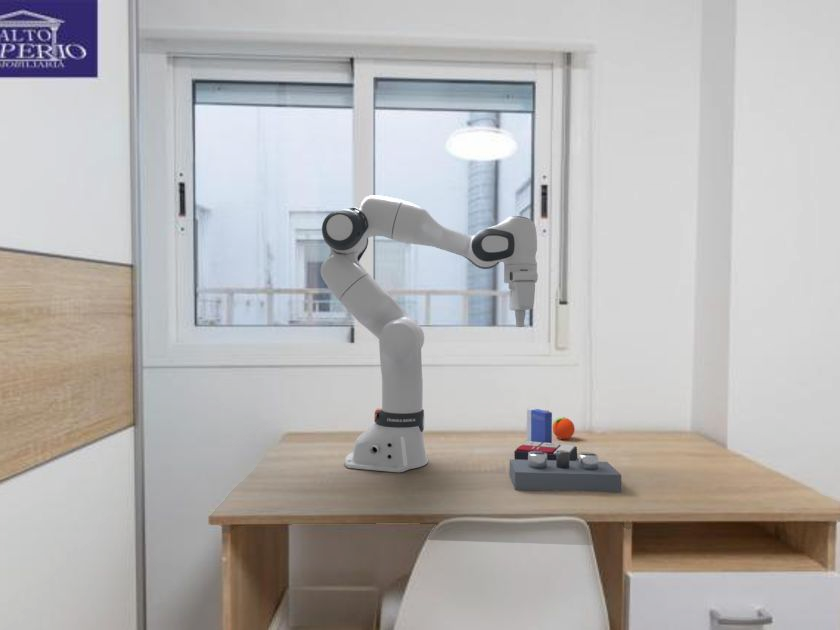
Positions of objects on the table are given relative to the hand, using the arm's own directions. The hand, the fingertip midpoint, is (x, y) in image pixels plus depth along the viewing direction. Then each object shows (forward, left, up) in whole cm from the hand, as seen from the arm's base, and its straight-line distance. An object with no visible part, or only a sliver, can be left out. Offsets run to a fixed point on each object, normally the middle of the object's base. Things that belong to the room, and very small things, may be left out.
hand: (520, 326), depth 133 cm
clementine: (+18, +27, -37) cm, 49 cm away
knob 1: (+2, -16, -37) cm, 40 cm away
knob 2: (+14, -16, -37) cm, 43 cm away
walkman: (+8, +14, -37) cm, 41 cm away
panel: (+8, -16, -37) cm, 41 cm away
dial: (+8, -16, -33) cm, 38 cm away
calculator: (+8, +4, -38) cm, 39 cm away
